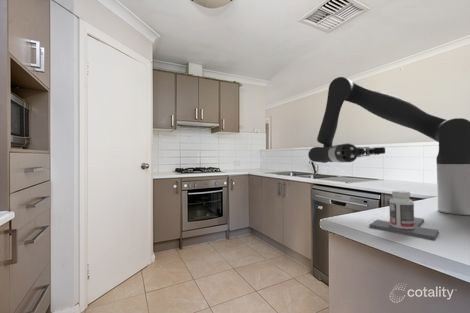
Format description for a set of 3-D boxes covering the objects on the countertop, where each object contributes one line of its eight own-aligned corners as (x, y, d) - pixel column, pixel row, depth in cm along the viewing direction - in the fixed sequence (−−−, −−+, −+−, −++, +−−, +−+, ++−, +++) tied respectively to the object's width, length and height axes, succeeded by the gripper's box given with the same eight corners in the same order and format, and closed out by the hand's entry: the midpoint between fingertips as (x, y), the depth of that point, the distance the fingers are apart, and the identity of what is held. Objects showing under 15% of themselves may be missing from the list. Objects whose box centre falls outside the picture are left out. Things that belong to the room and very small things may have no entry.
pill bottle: (415, 226, 60) (414, 191, 61) (412, 231, 57) (411, 193, 57) (392, 223, 64) (391, 189, 64) (387, 227, 61) (386, 191, 61)
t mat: (387, 215, 75) (387, 213, 75) (443, 224, 65) (443, 221, 65) (369, 227, 63) (369, 224, 63) (434, 239, 53) (434, 236, 53)
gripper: (326, 144, 90) (354, 140, 74) (356, 143, 93) (390, 139, 77) (327, 163, 90) (356, 162, 74) (357, 161, 92) (392, 160, 76)
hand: (373, 150), depth 75 cm, fingers open, 8 cm apart
